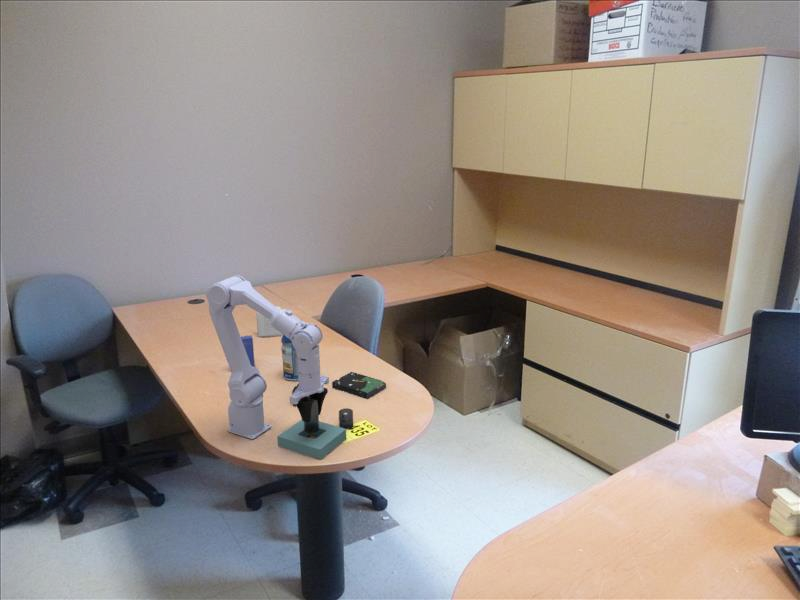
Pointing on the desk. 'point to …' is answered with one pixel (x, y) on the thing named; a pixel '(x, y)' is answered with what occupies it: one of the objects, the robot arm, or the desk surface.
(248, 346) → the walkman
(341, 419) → the short pin
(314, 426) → the tall pin
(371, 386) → the disk drive
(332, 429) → the hole block
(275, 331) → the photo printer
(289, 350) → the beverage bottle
